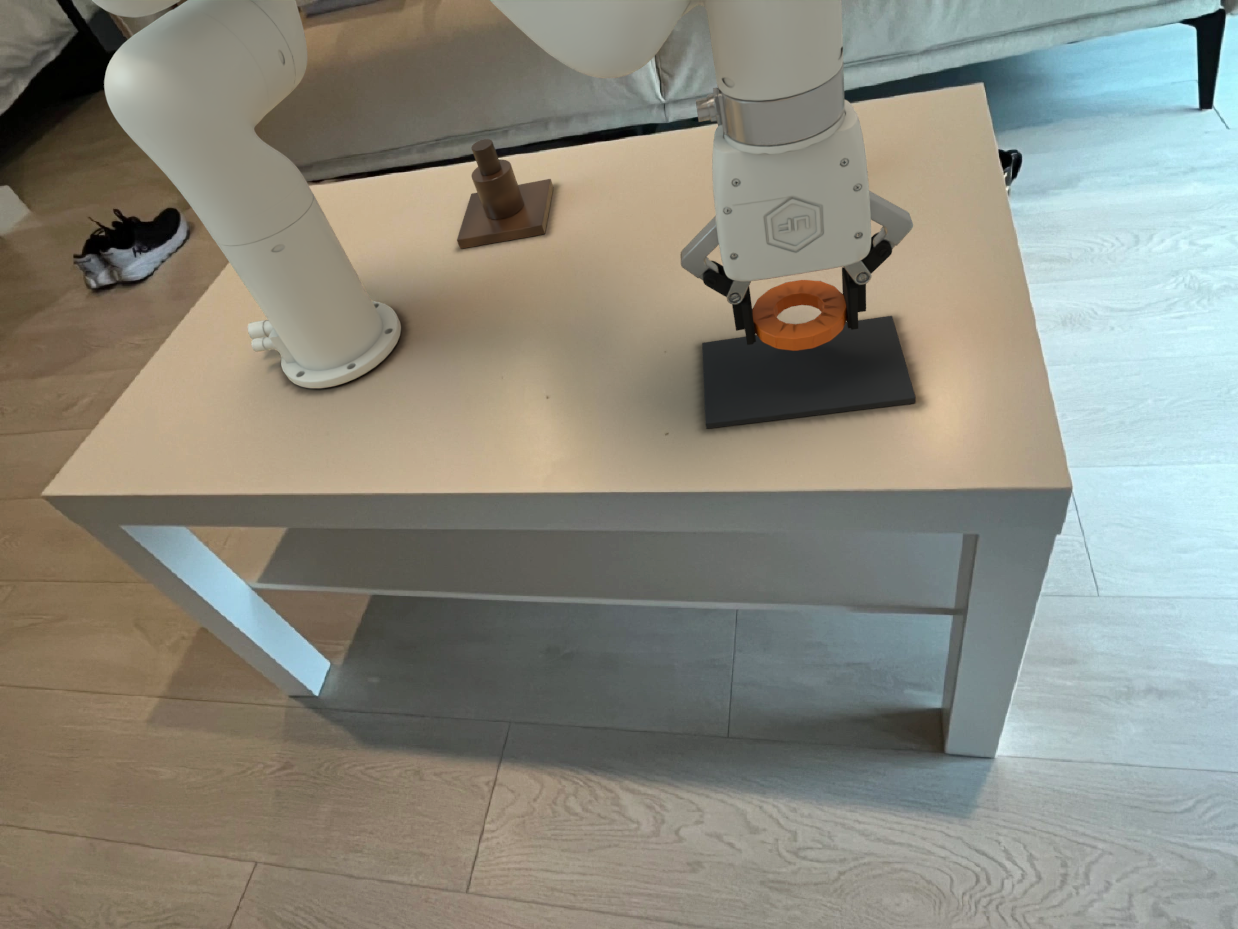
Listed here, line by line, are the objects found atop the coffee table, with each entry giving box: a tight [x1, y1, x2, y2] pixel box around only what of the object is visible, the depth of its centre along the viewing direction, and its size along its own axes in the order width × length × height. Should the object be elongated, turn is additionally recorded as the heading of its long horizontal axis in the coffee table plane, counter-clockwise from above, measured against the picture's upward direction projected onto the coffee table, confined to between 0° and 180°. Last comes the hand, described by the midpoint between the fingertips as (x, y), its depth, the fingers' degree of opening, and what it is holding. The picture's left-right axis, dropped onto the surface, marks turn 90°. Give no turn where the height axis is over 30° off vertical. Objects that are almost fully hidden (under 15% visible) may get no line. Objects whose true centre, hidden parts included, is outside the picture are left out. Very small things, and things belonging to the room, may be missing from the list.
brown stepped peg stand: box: [456, 138, 554, 250], centre depth 91 cm, size 10×10×9 cm
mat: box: [701, 315, 917, 429], centre depth 67 cm, size 16×10×1 cm, turn 88°
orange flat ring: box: [752, 279, 847, 351], centre depth 63 cm, size 7×7×1 cm
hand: (799, 324), depth 63 cm, fingers closed on orange flat ring, 7 cm apart
